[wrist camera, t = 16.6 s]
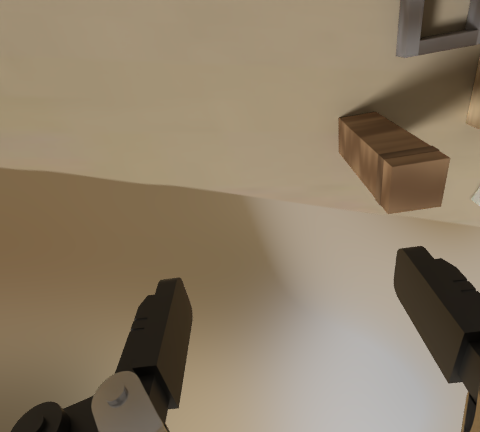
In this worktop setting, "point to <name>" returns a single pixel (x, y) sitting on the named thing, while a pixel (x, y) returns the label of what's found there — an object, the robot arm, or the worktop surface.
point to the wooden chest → (440, 43)
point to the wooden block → (393, 163)
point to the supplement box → (476, 197)
